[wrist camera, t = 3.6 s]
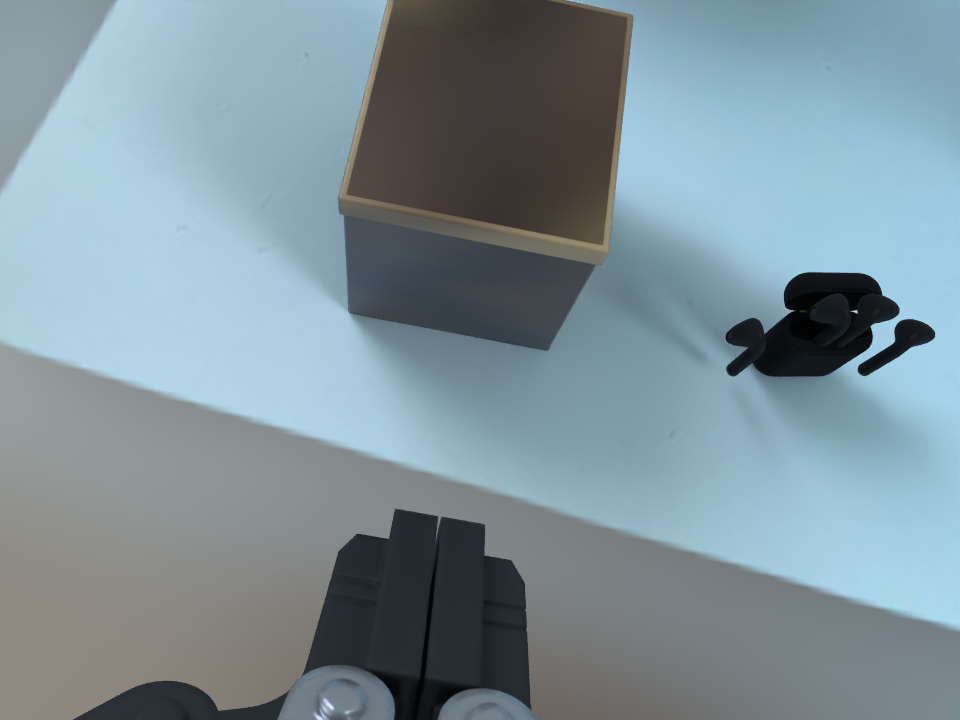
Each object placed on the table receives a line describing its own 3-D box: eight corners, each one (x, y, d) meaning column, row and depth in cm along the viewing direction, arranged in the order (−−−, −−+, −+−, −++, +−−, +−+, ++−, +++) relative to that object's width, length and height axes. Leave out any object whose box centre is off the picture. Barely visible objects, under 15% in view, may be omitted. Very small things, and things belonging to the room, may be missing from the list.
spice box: (344, 315, 28) (337, 199, 21) (389, 120, 31) (396, -38, 24) (550, 354, 29) (609, 253, 22) (575, 158, 32) (634, 14, 25)
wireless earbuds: (695, 383, 29) (759, 328, 24) (686, 317, 30) (745, 251, 25) (881, 382, 30) (975, 329, 25) (866, 318, 31) (955, 255, 26)
